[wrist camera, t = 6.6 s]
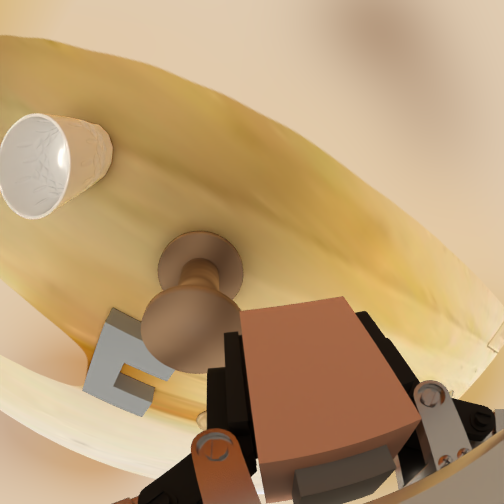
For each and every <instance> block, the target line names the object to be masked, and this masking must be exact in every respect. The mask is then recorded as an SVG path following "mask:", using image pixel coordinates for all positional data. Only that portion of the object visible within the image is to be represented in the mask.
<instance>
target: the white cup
mask: <svg viewBox="0 0 504 504" xmlns="http://www.w3.org/2000/svg"><path fill="white" fill-rule="evenodd" d="M112 152H113V147H112V143H111V140H110V137H109V134H108V133H107V132H106V131H105V130H104V129H103V128H102V127H101V126H100V125H98V124H94V123H90V122H86V121H84V120H81V119H76V118H71V117H64V116H56V115H48V114H40V113H33V114H29V115H26V116H24V117H22V118H20V119H19V120H18V121H16V122H15V123H14V124H13V125H12V126H11V128H10V129H9V130H8V132H7V133H6V135H5V137H4V139H3V141H2V143H1V146H0V191H1V193H2V196H3V198H4V200H5V201H6V203H7V204H8V206H9V207H10V208H11V209H12V210H13V211H14V212H15V213H16V214H18V215H19V216H21V217H24V218H27V219H40V218H43V217H45V216H47V215H49V214H50V213H51V212H53V211H54V210H56V209H57V208H59V207H60V206H62V205H64V204H65V203H67V202H68V201H70V200H72V199H73V198H75V197H76V196H78V195H79V194H81V193H82V192H84V191H85V190H87V189H88V188H90V187H91V186H92V185H94V184H95V183H96V182H98V181H99V180H100V179H101V178H103V177H104V176H105V174H106V172H107V170H108V168H109V167H110V165H111V163H112Z"/></svg>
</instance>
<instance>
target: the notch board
mask: <svg viewBox="0 0 504 504" xmlns="http://www.w3.org/2000/svg"><path fill="white" fill-rule="evenodd" d="M124 363H126V364H128V365H130V366H132V367H135V368H137V369H139V370H141V371H143V372H146V373H148V374H150V375H153V376H155V377H157V378H160V379H162V380H165V381H168V379H169V378H170V376H171V375H172V374H173V372H174V371H175V369H172V368H170V367H168V366H166V365H164V364H162V363H161V362H159V361H158V360H157V359H156V358H155V357H154V356H152V354H151V353H150V352H149V351H148V349H147V348H146V346H145V344H144V342H143V340H142V336H141V322H140V321H138V320H136V319H134V318H132V317H130V316H128V315H126V314H124V313H122V312H120V311H118V310H116V309H115V308H112V310H111V312H110V314H109V316H108V318H107V320H106V322H105V324H104V327H103V330H102V332H101V335H100V338H99V341H98V343H97V346H96V349H95V352H94V355H93V358H92V361H91V364H90V367H89V370H88V373H87V377H86V380H85V383H84V387H83V390H82V391H84V392H86V393H88V394H90V395H92V396H94V397H96V398H99V399H101V400H103V401H105V402H107V403H109V404H112V405H114V406H116V407H118V408H121V409H123V410H125V411H128V412H130V413H133V414H135V415H138V416H140V417H142V416H143V415H144V413H145V412H146V411H147V409H148V408H149V406H150V405H151V404H152V400H153V394H154V389H155V388H154V387H152V386H149V385H147V384H145V383H142V382H140V381H138V380H135V379H133V378H131V377H129V376H127V375H124V374H122V373H120V370H121V368H122V366H123V364H124Z"/></svg>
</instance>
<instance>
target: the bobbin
mask: <svg viewBox="0 0 504 504" xmlns="http://www.w3.org/2000/svg"><path fill="white" fill-rule="evenodd" d="M158 278H159V282H160V285H161V287H162V289H163V291H162V292H160V293H159V294H157V295H156V296H155V297H154V298H153V299H152V300H151V301H150V303H149V304H148V306H147V308H146V310H145V313H144V315H143V318H142V322H141V336H142V340H143V342H144V344H145V346H146V348H147V349H148V351H149V352H150V353H151V354H152V356H154V357H155V358H156V359H157V360H158V361H159V362H161V363H162V364H164V365H166V366H168V367H170V368H172V369H175V370H177V371H181V372H186V373H194V374H203V373H207V370H208V368H219V367H225V353H224V333H227V332H236V331H238V333H239V335H242V329H241V321H240V312H239V311H241V310H240V308H239V307H238V306H237V304H236V303H235V302H234V301H233V300H232V299H233V298H234V297H235V296H236V295H237V293H238V291H239V290H240V287H241V285H242V281H243V267H242V262H241V259H240V256H239V254H238V252H237V251H236V249H235V248H234V246H233V245H232V244H231V243H230V242H228V241H227V240H226V239H224V238H223V237H221V236H219V235H217V234H214V233H210V232H205V231H194V232H189V233H185V234H183V235H181V236H178V237H177V238H175V239H174V240H173V241H171V242H170V243H169V244H168V246H167V247H166V248H165V250H164V251H163V254H162V256H161V258H160V261H159V264H158Z"/></svg>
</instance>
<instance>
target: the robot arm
mask: <svg viewBox="0 0 504 504" xmlns="http://www.w3.org/2000/svg"><path fill="white" fill-rule="evenodd" d="M355 314H356V315H357V317H358V318H359V320H360V321H361V323H362V324H363V326H364V327H365V329H366V330H367V332H368V333H369V335H370V336H371V338H372V339H373V341H374V342H375V344H376V345H377V347H378V348H379V350H380V351H381V353H382V355H383V356H384V358H385V359H386V361H387V362H388V364H389V365H390V367H391V369H392V370H393V372H394V373H395V375H396V377H397V378H398V380H399V381H400V383H401V385H402V386H403V388H404V389H405V391H406V393H407V394H408V396H409V398H410V399H411V401H412V403H413V404H414V406H415V408H416V409H417V411H418V413H419V414H420V416H421V418H422V419H421V421H420V422H419V424H418V425H417V427H416V428H415V430H414V431H413V433H412V434H411V436H410V437H409V439H408V440H407V442H406V443H405V444H404V446H403V447H402V449H401V450H400V451H399V453H398V454H397V455H396V457H395V458H394V459H393V460H394V462H395V465H396V467H397V468H396V469H395V471H396V477H397V482H398V488H399V490H398V491H395V492H393V493H391V494H388V495H386V496H383V497H381V498H378V499H376V500H372V501H370V502H367V503H364V504H504V409H495V410H494V411H493V412H492V410H490V409H489V408H488V407H485V406H482V405H478V404H473V403H469V402H466V401H461V400H458V399H454V398H451V396H450V394H449V392H448V390H447V389H446V387H445V386H444V385H443V384H441V383H439V382H437V381H433V380H427V381H423V382H421V383H420V382H419V380H418V379H417V378H416V376H415V375H414V373H413V372H412V370H411V369H410V367H409V366H408V364H407V363H406V362H405V360H404V359H403V357H402V356H401V354H400V353H399V352H398V350H397V349H396V347H395V346H394V345H393V343H392V342H391V341H390V340H389V339H388V338H385V336H384V335H383V333H382V332H381V331H380V329H379V328H378V327H377V325H376V324H375V322H374V321H373V320H372V318H371V317H370V316H369V314H368V313H367V312H366V311H362V312H357V313H355ZM224 353H225V367H219V368H208V370H207V430H205V431H202V432H201V433H199V434H198V435H197V436H196V437H195V438H194V439H193V441H192V444H191V453H190V454H189V455H188V456H187V457H185V458H184V459H183V460H181V461H180V462H179V463H178V464H176V465H175V466H174V467H172V468H171V469H170V470H168V471H167V472H166V473H164V474H163V475H162V476H160V477H159V478H158V479H156V480H155V481H154V482H152V483H151V484H149V485H148V486H147V487H145V488H144V489H143V490H142V491H141V492H140V495H139V496H137V497H134V498H132V499H130V498H126V499H123V500H121V501H118V502H115V503H113V504H261V502H260V500H259V497H258V495H257V492H256V490H255V487H254V484H253V482H252V479H251V476H252V475H253V474H254V473H255V472H256V471H257V468H256V466H257V464H256V459H257V458H258V453H257V446H256V439H255V432H254V424H253V417H252V410H251V402H250V394H249V386H248V379H247V371H246V363H245V354H244V346H243V338H242V335H239V333H238V331H236V332H227V333H224Z"/></svg>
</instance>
